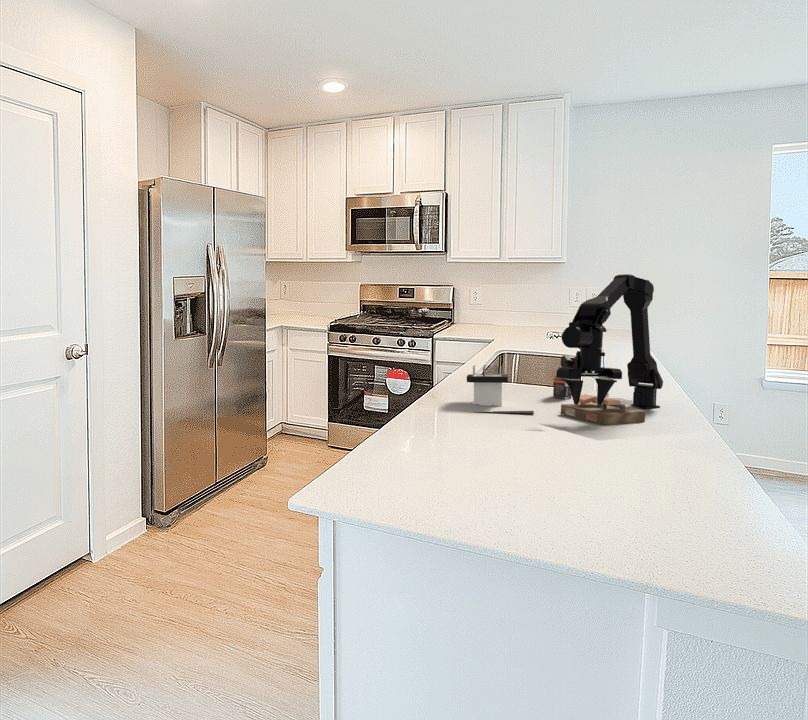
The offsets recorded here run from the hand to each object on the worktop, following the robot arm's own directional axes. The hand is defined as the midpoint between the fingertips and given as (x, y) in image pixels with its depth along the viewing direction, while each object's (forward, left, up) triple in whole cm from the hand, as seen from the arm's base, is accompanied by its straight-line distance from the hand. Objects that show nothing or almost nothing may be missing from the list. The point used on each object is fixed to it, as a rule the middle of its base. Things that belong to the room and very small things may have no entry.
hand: (587, 404), depth 163 cm
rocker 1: (-9, -9, -1) cm, 13 cm away
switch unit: (-9, -5, -5) cm, 12 cm away
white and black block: (+11, -33, -5) cm, 36 cm away
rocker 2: (-9, 0, -1) cm, 9 cm away
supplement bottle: (-15, -30, -5) cm, 34 cm away
